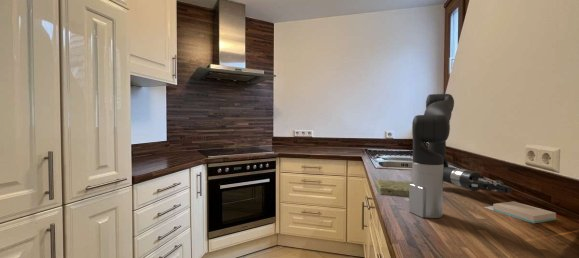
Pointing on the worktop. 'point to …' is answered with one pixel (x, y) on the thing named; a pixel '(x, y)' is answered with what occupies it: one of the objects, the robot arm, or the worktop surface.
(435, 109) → the robot arm
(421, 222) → the worktop surface
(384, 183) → the decorative tile
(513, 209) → the tile
